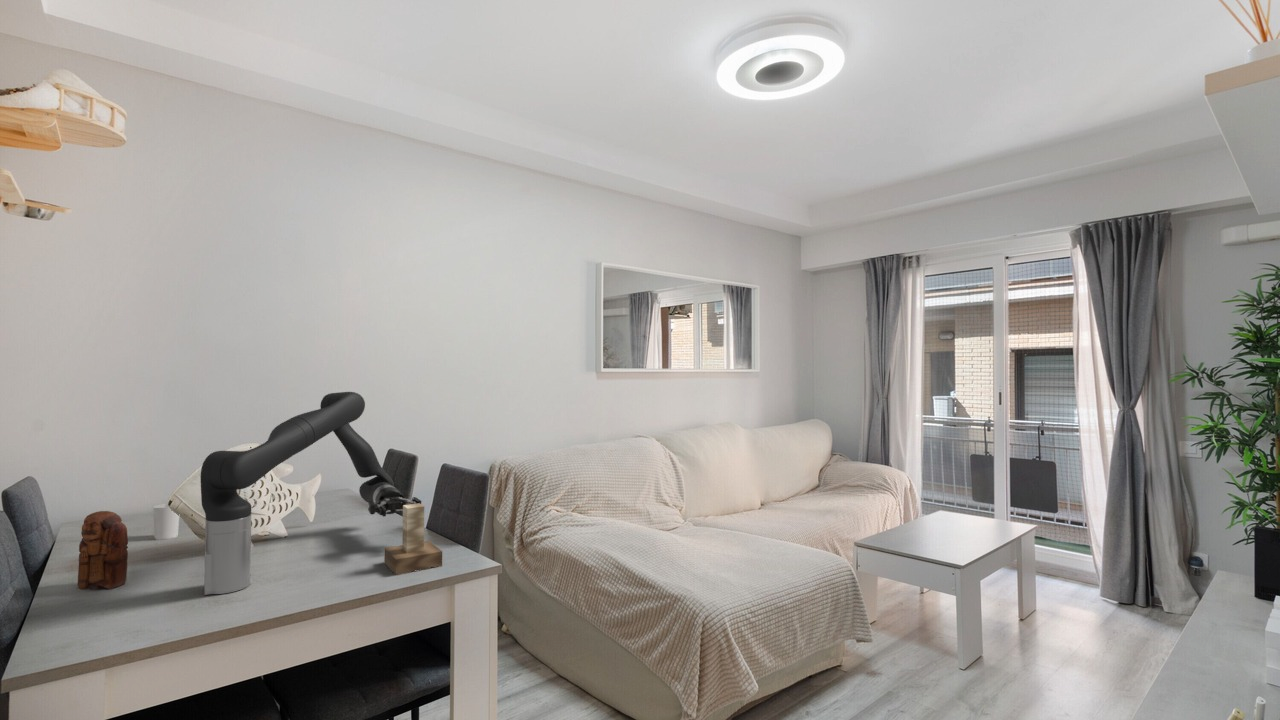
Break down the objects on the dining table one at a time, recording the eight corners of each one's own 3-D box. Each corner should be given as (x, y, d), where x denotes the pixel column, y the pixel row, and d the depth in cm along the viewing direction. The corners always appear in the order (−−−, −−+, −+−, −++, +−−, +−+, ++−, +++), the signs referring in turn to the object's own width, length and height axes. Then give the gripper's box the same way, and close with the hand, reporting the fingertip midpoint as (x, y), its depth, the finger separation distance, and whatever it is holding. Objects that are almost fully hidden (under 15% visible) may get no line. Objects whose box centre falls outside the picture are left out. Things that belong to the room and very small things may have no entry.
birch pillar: (406, 553, 159) (407, 508, 160) (402, 549, 163) (402, 505, 163) (423, 550, 162) (424, 506, 162) (419, 546, 166) (419, 503, 166)
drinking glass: (179, 533, 191) (179, 501, 192) (180, 537, 186) (180, 505, 186) (152, 536, 187) (153, 504, 187) (152, 541, 182) (153, 508, 182)
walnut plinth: (395, 574, 154) (396, 559, 154) (384, 562, 164) (384, 548, 164) (442, 566, 161) (442, 551, 161) (428, 554, 171) (428, 540, 171)
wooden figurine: (65, 589, 143) (66, 514, 143) (91, 579, 149) (92, 508, 149) (111, 590, 142) (112, 515, 142) (135, 581, 148) (136, 509, 149)
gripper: (363, 488, 180) (374, 500, 167) (412, 484, 188) (426, 496, 175) (362, 513, 180) (373, 527, 167) (411, 508, 188) (425, 521, 175)
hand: (400, 511), depth 171 cm, fingers open, 8 cm apart
